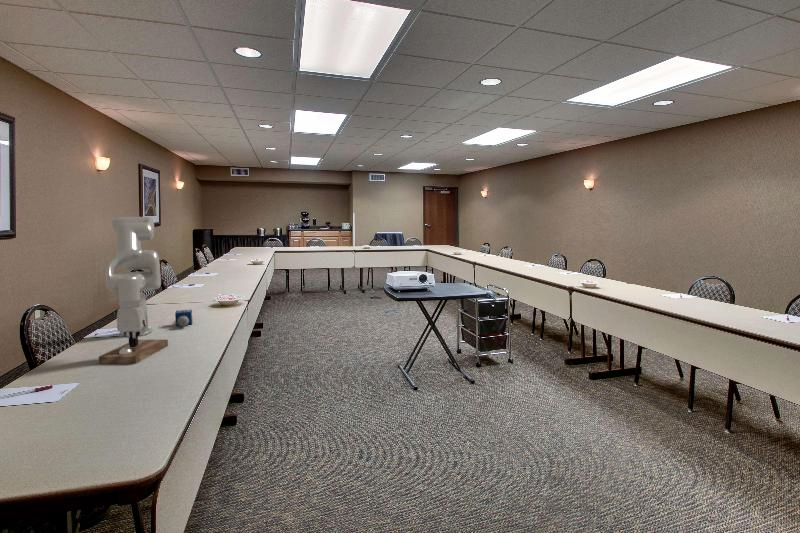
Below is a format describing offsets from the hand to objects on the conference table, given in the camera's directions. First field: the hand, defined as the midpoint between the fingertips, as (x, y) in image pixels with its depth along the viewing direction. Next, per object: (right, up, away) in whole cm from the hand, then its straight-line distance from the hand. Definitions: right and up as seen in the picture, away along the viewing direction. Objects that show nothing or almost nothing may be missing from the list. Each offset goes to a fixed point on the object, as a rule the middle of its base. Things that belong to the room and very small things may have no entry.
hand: (133, 346), depth 183 cm
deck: (0, -4, +1) cm, 4 cm away
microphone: (-5, +2, +54) cm, 55 cm away
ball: (0, -2, -6) cm, 6 cm away
